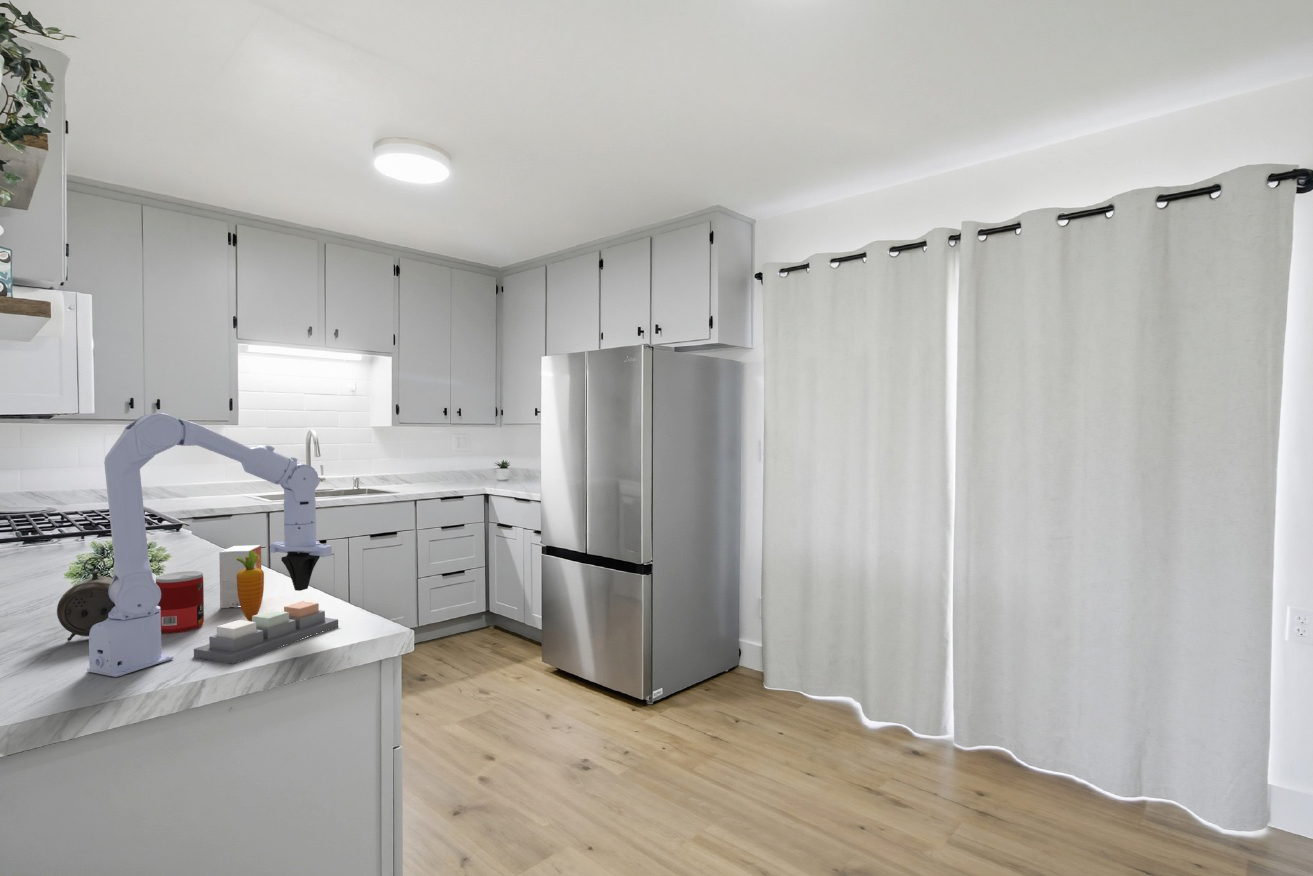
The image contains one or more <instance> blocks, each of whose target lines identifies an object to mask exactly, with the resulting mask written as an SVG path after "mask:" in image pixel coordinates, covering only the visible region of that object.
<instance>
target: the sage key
mask: <svg viewBox="0 0 1313 876" xmlns="http://www.w3.org/2000/svg"><path fill="white" fill-rule="evenodd" d="M252 622H256V626H259V627H265V628H270V627H273V626H276V625H279V624H282V623H286V622H289V612H284V610H283V611H282V610H276V609H272V610H268V611H265V612H261V613H258V614H257V615H254V616H252Z"/></svg>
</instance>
